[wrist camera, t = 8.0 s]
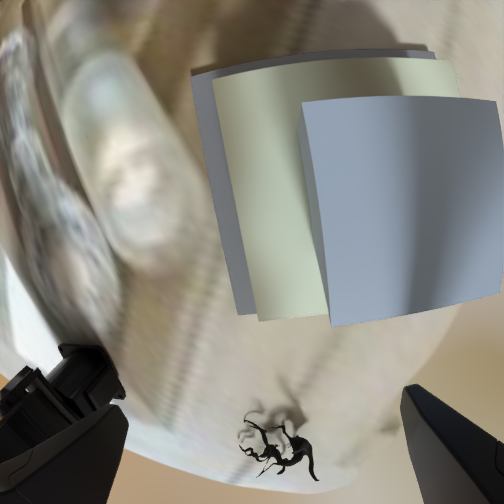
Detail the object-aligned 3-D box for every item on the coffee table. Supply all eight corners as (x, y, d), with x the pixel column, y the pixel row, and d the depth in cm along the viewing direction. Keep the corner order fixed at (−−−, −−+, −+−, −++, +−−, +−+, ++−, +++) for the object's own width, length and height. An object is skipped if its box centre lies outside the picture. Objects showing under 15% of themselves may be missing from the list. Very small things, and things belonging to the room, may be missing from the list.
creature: (262, 452, 27) (330, 451, 24) (246, 490, 23) (319, 495, 19) (228, 412, 26) (303, 408, 22) (205, 454, 21) (287, 459, 18)
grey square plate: (239, 310, 21) (238, 315, 20) (193, 79, 16) (189, 76, 16) (454, 279, 18) (457, 282, 17) (430, 54, 13) (433, 51, 13)
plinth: (262, 285, 19) (250, 331, 14) (226, 97, 16) (198, 72, 11) (436, 259, 17) (477, 294, 12) (416, 77, 14) (457, 53, 8)
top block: (315, 251, 12) (331, 326, 7) (296, 131, 11) (301, 102, 5) (423, 236, 11) (499, 292, 6) (411, 121, 10) (495, 101, 4)
